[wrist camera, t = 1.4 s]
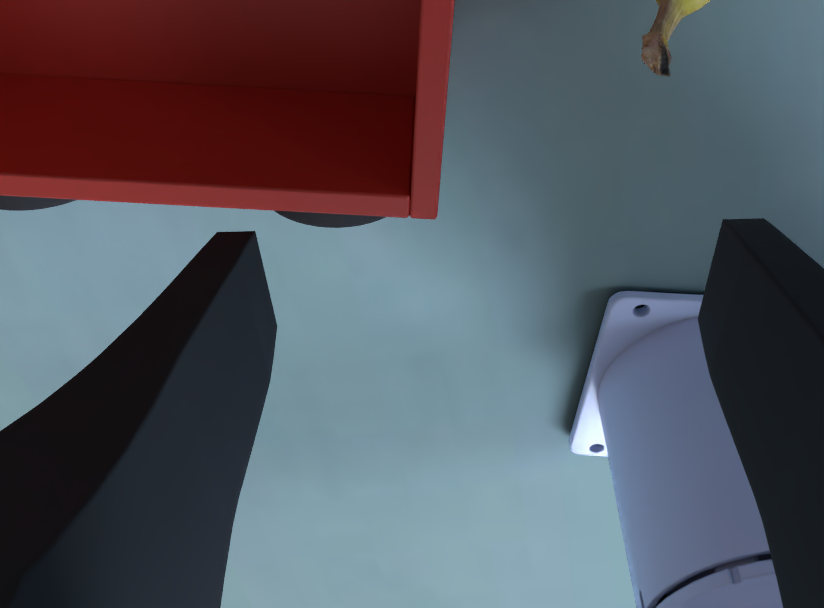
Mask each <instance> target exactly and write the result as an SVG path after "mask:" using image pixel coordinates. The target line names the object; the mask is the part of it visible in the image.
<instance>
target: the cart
mask: <svg viewBox="0 0 824 608" xmlns="http://www.w3.org/2000/svg"><path fill="white" fill-rule="evenodd" d="M454 4H455V0H0V195H4V196H22V197H40V198H58V199H76V200H94V201H112V202H130V203H148V204H166V205H184V206H203V207H221V208H239V209H257V210H275V211H293V212H311V213H329V214H347V215H365V216H383V217H401V218H407V217H408V216H409V215H410V217H411V218H420V219H436V217H437V212H438V200H439V188H440V176H441V163H442V151H443V139H444V126H445V114H446V102H447V90H448V77H449V65H450V53H451V40H452V28H453V16H454Z"/></svg>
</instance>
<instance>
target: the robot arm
mask: <svg viewBox="0 0 824 608" xmlns="http://www.w3.org/2000/svg"><path fill="white" fill-rule="evenodd" d="M638 305H645V306H644V307H642V308H638V309H636V308H635V307H636V306H638ZM276 331H277V324H276V319H275V315H274V311H273V306H272V302H271V298H270V293H269V289H268V285H267V280H266V276H265V272H264V267H263V263H262V259H261V255H260V250H259V246H258V242H257V237H256V233H255V231H245V232H217V233H216V234H215V235H214V236H213V237H212V238H211V239H210V240H209V242H208V243H207V244H206V245H205V246H204V247H203V248H202V249H201V250H200V251H199V252H198V253H197V255H196V256H195V257H194V258H193V259H192V260H191V261H190V262H189V263H188V265H187V266H186V267H185V268H184V269H183V270H182V271H181V272H180V273H179V275H178V276H177V277H176V278H175V279H174V280H173V281H172V282H171V283H170V285H169V286H168V287H167V288H166V289H165V290H164V291H163V292H162V293H161V294H160V295H159V296H158V297H157V298H156V299H155V301H154V302H153V303H152V304H151V305H150V306H149V307H148V308H147V309H146V310H145V311H144V312H143V313H142V314H141V315H140V316H139V317H138V318H137V319H136V320H135V321H134V322H133V323H132V324H131V325H130V326H129V327H128V328H127V329H126V330H125V331H124V332H123V333H122V334H121V335H120V336H119V337H118V338H117V339H116V340H115V341H113V342H112V343H111V344H110V345H109V346H108V347H107V348H106V349H105V350H104V351H103V352H102V353H101V354H100V355H99V356H98V357H97V358H95V359H94V360H93V361H92V362H91V363H90V364H89V365H87V366H86V367H85V368H84V369H83V370H82V371H80V372H79V373H78V374H77V375H76V376H74V377H73V378H72V379H71V380H69V381H68V382H67V383H66V384H64V385H63V386H62V387H61V388H59V389H58V390H57V391H56V392H54V393H53V394H52V395H51V396H49V397H48V398H47V399H45V400H44V401H43V402H41V403H40V404H39V405H37V406H36V407H35V408H33V409H32V410H30V411H29V412H27V413H26V414H25V415H23V416H22V417H20V418H19V419H17V420H16V421H14V422H13V423H12V424H10V425H9V426H7V427H6V428H4V429H3V430H1V431H0V608H220V606H221V598H222V591H223V584H224V577H225V571H226V564H227V558H228V552H229V545H230V539H231V533H232V527H233V521H234V517H235V512H236V508H237V503H238V499H239V495H240V491H241V488H242V484H243V480H244V477H245V473H246V469H247V466H248V462H249V458H250V455H251V451H252V447H253V444H254V440H255V436H256V433H257V429H258V425H259V421H260V418H261V414H262V410H263V406H264V403H265V399H266V395H267V391H268V387H269V383H270V378H271V371H272V364H273V357H274V348H275V340H276ZM569 446H570V450H571V451H572V452H573V453H575V454H579V455H592V456H608V460H609V465H610V470H611V475H612V481H613V486H614V491H615V497H616V502H617V507H618V513H619V518H620V523H621V529H622V534H623V539H624V544H625V550H626V555H627V560H628V566H629V571H630V576H631V582H632V587H633V592H634V598H635V603H636V608H824V268H823V267H821V266H820V265H819V264H818V263H817V262H815V261H814V260H813V259H812V258H811V257H810V256H808V255H807V254H806V253H805V252H804V251H803V250H802V249H800V248H799V247H798V246H797V245H796V244H795V243H793V242H792V241H791V240H790V239H789V238H788V237H786V236H785V235H784V234H783V233H782V232H780V231H779V230H778V229H777V228H776V227H774V226H773V225H772V224H771V223H769V222H768V221H767V220H765V219H764V218H761V219H723V221H722V224H721V228H720V232H719V236H718V240H717V244H716V248H715V252H714V256H713V260H712V264H711V268H710V272H709V276H708V279H707V283H706V287H705V291H704V295H694V294H676V293H658V292H640V291H620V292H618V293H615V294H614V295H613V296H611V297H610V299H609V301H608V303H607V307H606V310H605V314H604V317H603V321H602V324H601V328H600V331H599V335H598V338H597V342H596V345H595V349H594V353H593V356H592V360H591V363H590V367H589V370H588V374H587V377H586V381H585V384H584V388H583V391H582V395H581V398H580V402H579V405H578V409H577V412H576V416H575V419H574V423H573V427H572V430H571V434H570V437H569Z"/></svg>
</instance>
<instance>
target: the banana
mask: <svg viewBox="0 0 824 608" xmlns="http://www.w3.org/2000/svg"><path fill="white" fill-rule="evenodd" d="M709 1H710V0H656V2H657V3H658V5H659V10H658V13H657V16H656V19H655V21H654V23H653V26H652V28H651V29H650V31H649V33H648V34H646V35H643V36H642V38H643V48H642V49H643V52H642V61H644V64H645V63H646V64H647V66H648V67H649V68H650V69H651V71H653V72H654V73H656V74H657V75H659V76H662V75H663V76H670V70H669V67H668V66H669V65H670V63H671V54H670V51H669V49H668V44H667V43H668V40H669V38H670V36H671V34H672V33H673V31H674V29H675V27H676V26H677V25H678V23H679V22H680V20H682V18H683V17H685V16H687V15H689V14H690V13H692V12H695V11H697V10H699V9H700V8H702V7H703V6H704V5H705V4H707V3H708V2H709Z"/></svg>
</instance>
